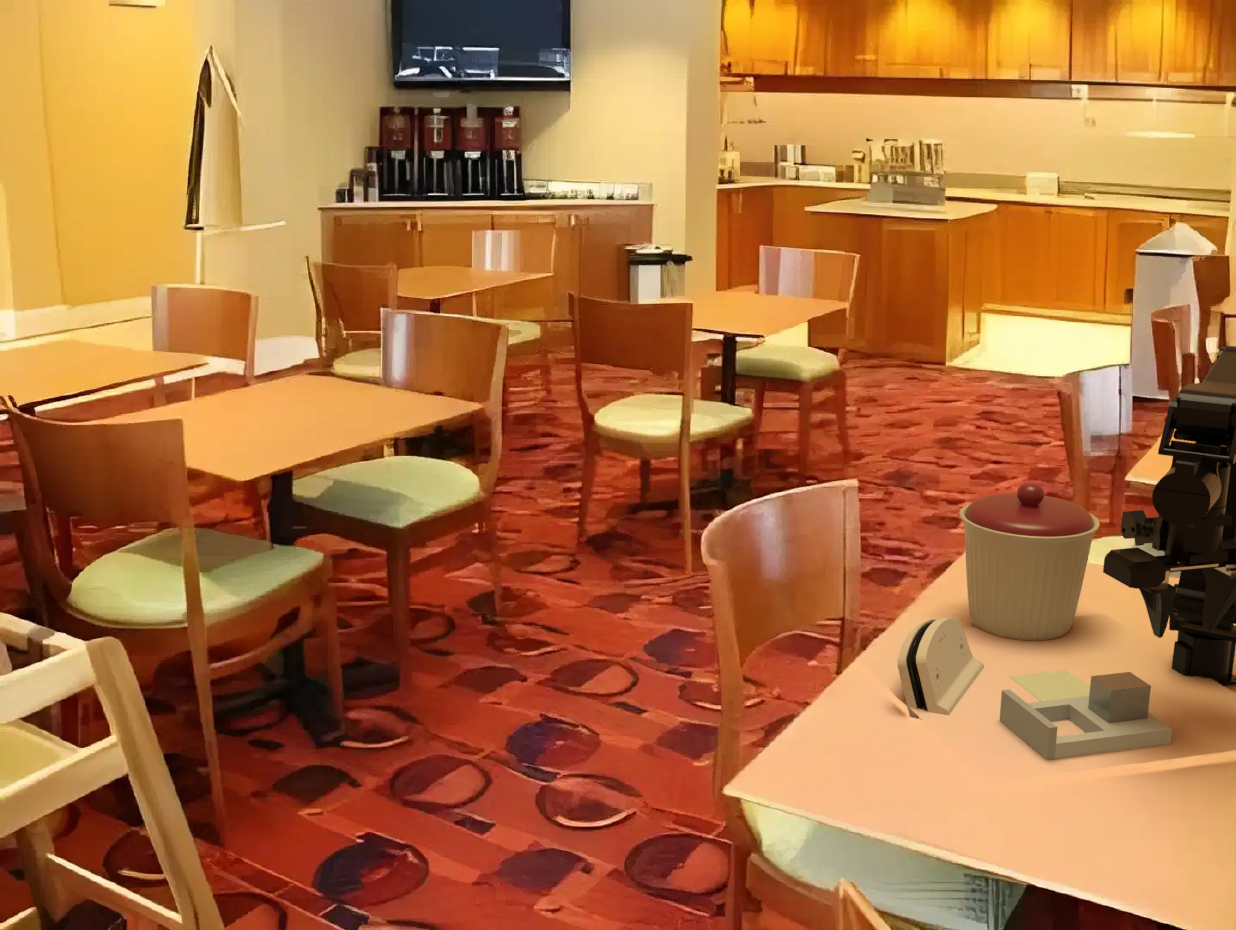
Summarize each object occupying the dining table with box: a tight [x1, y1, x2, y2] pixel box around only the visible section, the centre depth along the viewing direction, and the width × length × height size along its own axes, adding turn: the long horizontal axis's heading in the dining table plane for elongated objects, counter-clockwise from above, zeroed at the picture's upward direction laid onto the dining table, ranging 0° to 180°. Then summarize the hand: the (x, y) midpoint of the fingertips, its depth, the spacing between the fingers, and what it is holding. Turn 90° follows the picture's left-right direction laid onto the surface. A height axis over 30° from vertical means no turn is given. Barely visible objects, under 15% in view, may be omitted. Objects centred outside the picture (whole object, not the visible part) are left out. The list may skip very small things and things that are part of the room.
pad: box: [1008, 669, 1090, 702], centre depth 166 cm, size 8×8×1 cm
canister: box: [959, 482, 1101, 642], centre depth 184 cm, size 18×18×21 cm
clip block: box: [1088, 671, 1152, 723], centre depth 154 cm, size 5×4×4 cm
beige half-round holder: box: [896, 617, 985, 719], centre depth 166 cm, size 17×5×10 cm, turn 151°
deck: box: [999, 688, 1173, 761], centre depth 153 cm, size 16×10×5 cm, turn 104°
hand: (1182, 633), depth 154 cm, fingers open, 6 cm apart
